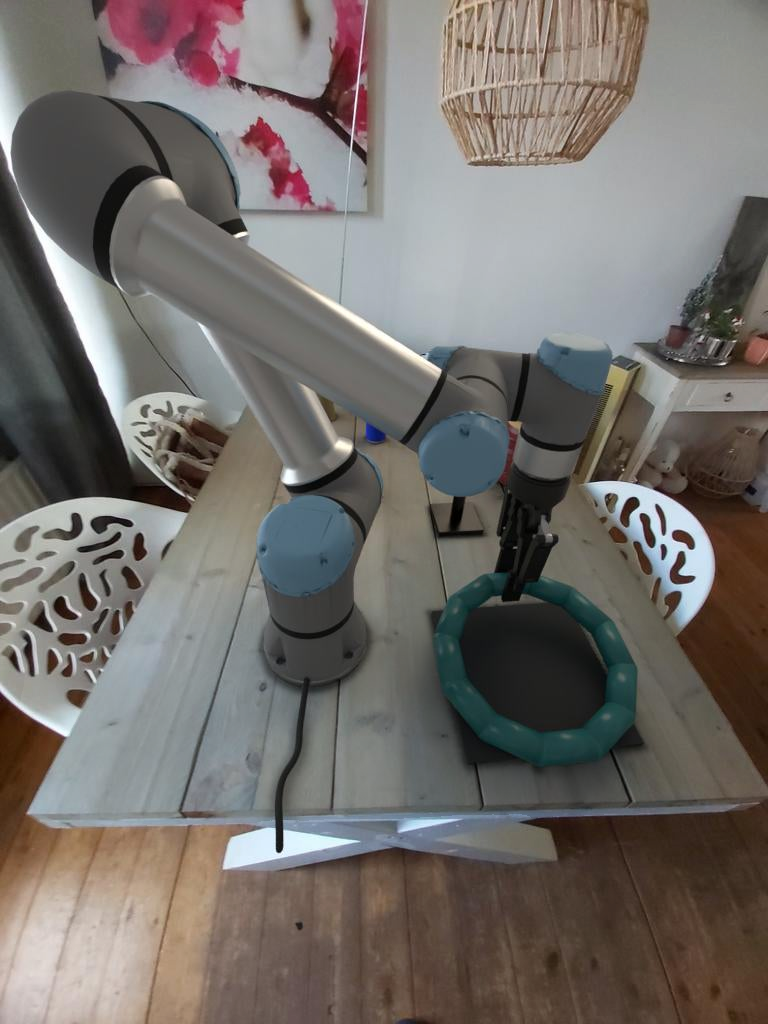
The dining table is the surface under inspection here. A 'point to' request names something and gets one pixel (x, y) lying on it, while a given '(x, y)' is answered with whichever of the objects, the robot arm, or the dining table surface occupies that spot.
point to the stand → (456, 518)
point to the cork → (327, 407)
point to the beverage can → (374, 434)
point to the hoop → (510, 734)
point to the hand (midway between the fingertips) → (505, 589)
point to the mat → (531, 672)
